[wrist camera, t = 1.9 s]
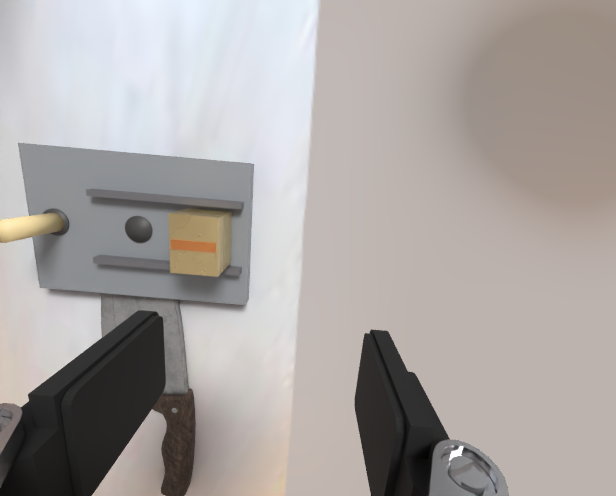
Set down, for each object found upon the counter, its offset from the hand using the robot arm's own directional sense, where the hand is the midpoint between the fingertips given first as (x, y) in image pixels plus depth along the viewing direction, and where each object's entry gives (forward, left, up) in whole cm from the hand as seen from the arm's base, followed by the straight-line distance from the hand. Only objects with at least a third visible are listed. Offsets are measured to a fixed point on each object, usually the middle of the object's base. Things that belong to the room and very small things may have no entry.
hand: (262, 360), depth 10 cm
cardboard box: (0, +8, -18) cm, 20 cm away
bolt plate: (0, +15, -20) cm, 25 cm away
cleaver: (-20, +15, -20) cm, 32 cm away
